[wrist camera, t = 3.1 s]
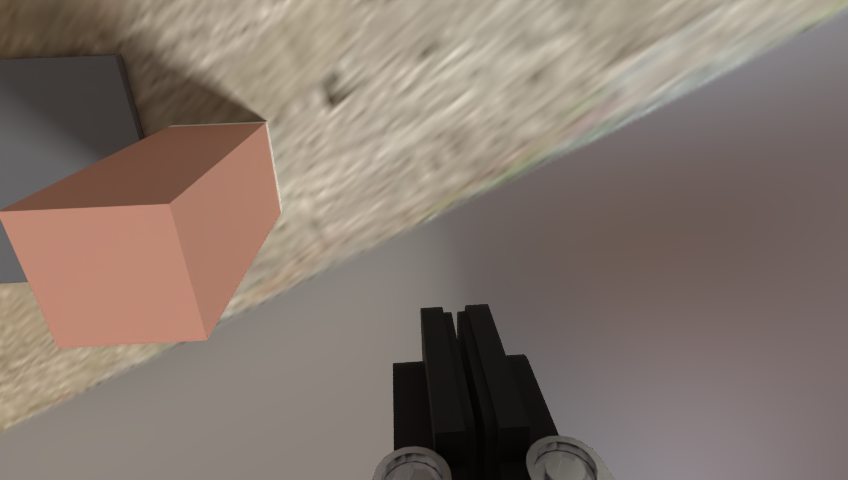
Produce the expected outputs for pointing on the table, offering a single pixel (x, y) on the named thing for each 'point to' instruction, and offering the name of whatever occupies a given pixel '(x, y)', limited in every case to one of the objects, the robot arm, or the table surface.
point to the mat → (58, 127)
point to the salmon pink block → (149, 235)
